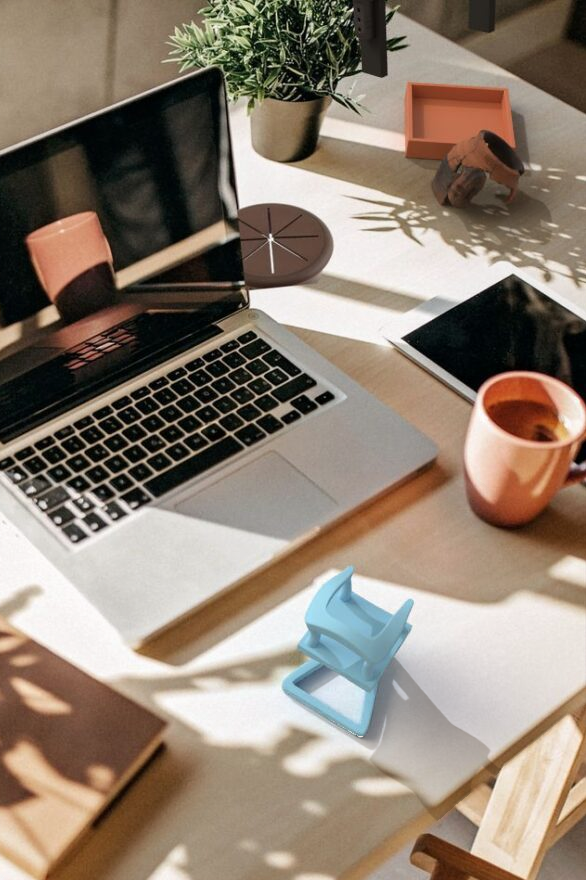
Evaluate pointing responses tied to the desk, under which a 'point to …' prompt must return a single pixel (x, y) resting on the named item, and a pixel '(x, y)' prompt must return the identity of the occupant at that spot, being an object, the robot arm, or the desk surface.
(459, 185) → the broken clay pot
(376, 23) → the robot arm
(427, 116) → the terracotta tray
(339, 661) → the chair
